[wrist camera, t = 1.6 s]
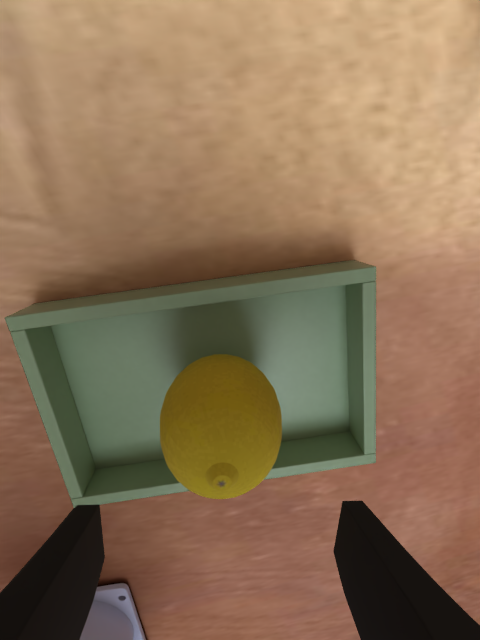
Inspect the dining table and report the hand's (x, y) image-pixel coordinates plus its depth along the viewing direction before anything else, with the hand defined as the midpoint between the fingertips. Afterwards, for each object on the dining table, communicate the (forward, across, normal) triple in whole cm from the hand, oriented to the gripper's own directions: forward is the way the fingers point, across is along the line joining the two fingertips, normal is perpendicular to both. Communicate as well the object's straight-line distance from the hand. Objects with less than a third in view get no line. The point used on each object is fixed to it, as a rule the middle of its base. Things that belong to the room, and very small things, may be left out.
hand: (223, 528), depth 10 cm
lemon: (+10, 0, 0) cm, 10 cm away
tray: (+10, 0, 0) cm, 10 cm away
